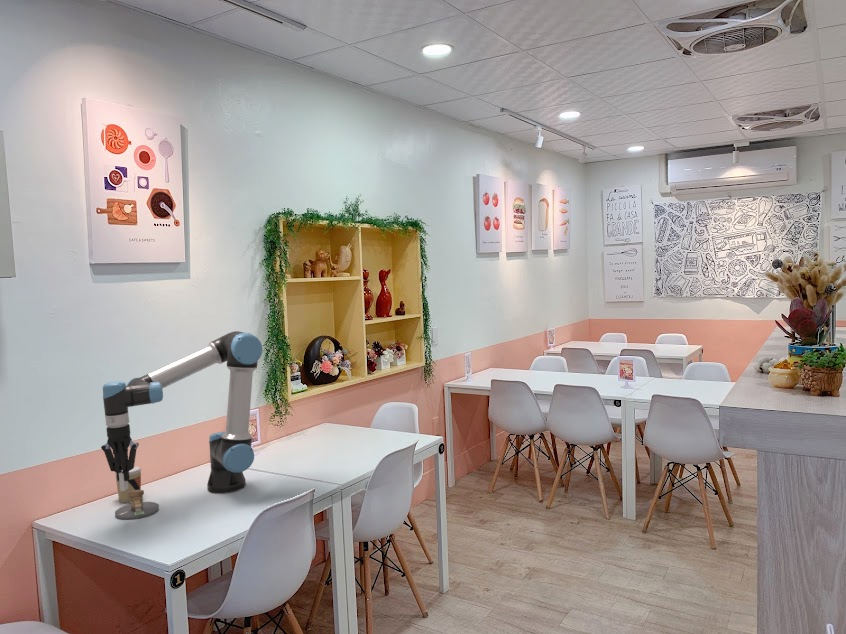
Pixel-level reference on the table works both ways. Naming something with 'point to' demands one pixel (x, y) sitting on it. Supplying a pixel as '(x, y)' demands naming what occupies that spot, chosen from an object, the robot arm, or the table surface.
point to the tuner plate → (129, 514)
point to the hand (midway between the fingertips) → (124, 489)
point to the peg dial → (136, 499)
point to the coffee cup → (130, 484)
